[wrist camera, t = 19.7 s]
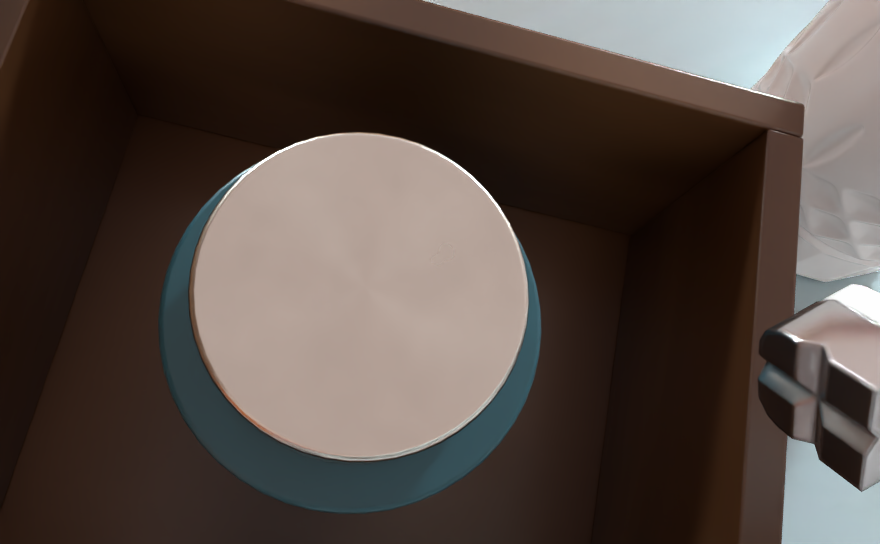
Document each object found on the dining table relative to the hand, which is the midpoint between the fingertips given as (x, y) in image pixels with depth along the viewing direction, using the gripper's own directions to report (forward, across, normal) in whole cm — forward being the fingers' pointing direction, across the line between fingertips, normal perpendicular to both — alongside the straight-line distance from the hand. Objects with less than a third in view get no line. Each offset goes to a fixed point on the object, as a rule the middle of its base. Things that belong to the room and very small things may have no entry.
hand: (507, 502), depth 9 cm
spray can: (+9, -1, -5) cm, 10 cm away
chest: (+10, 0, -5) cm, 11 cm away
